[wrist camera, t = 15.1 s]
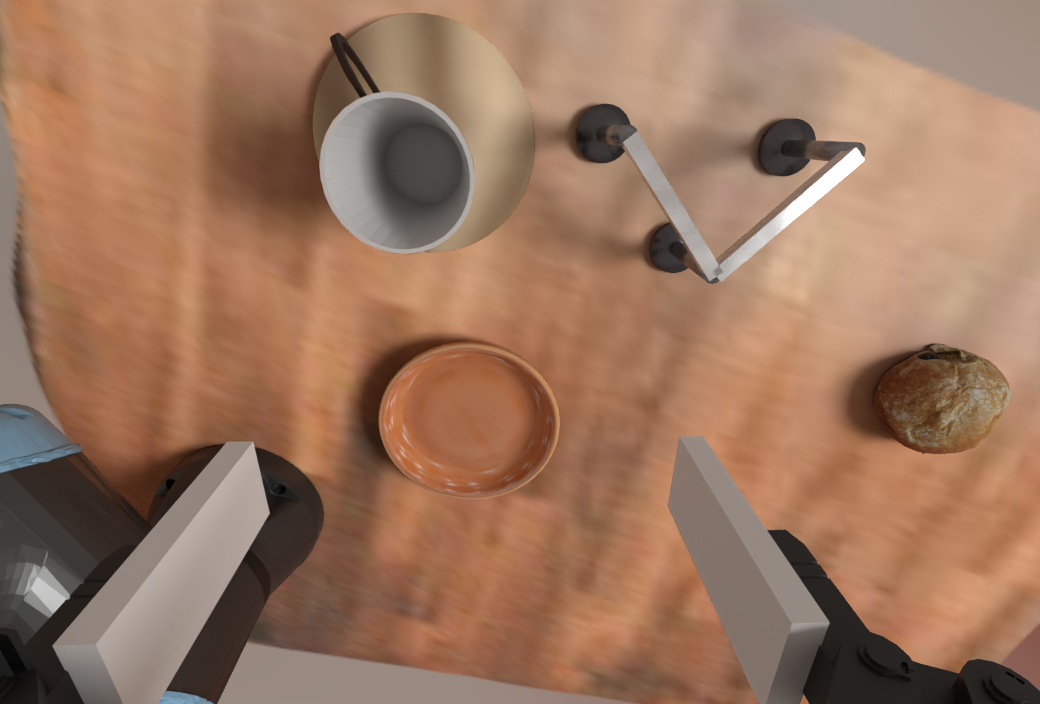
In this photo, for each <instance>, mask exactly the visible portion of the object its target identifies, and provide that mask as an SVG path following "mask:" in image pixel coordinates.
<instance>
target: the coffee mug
mask: <svg viewBox="0 0 1040 704" xmlns="http://www.w3.org/2000/svg"><path fill="white" fill-rule="evenodd" d="M330 40H331V43H332V46H333V49H334V52H335V54H336V56H337V59H338V61H339V63H340V65H341V67H342V69H343V71H344V73H345V75H346V77H347V79H348V80H349V81H350V83H351V84H352V86H353V87H354V89H355V90H356V92H357V94H358V95H359V97H360V98H359V99H357V100H355V101H354V102H352V103H351V104H349V105H348V106H346V107H345V108H344V109H343V110H342V111H341V112H340V113H339V114H338V115H337V116H336V118H335V119H334V120H333V121H332V123H331V125H330V127H329V128H328V130H327V132H326V134H325V137H324V140H323V144H322V147H321V152H320V162H319V167H320V179H321V184H322V187H323V191H324V194H325V197H326V199H327V201H328V204H329V206H330V208H331V210H332V211H333V213H334V214H335V216H336V217H337V218H338V220H339V221H340V223H341V224H342V225H343V226H344V227H345V228H346V229H347V230H348V231H349V232H350V233H351V234H352V235H354V236H355V237H356V238H358V239H359V240H361V241H362V242H364V243H365V244H367V245H369V246H372V247H374V248H376V249H378V250H382V251H386V252H390V253H395V254H413V253H420V252H424V251H427V250H429V249H432V248H435V247H437V246H438V245H440V244H442V243H443V242H445V241H447V240H448V239H449V238H450V237H451V236H452V235H453V234H454V233H455V232H456V231H457V230H458V229H459V227H460V226H461V225H462V223H463V222H464V220H465V219H466V217H467V214H468V212H469V210H470V208H471V205H472V201H473V196H474V192H475V171H474V164H473V159H472V156H471V153H470V150H469V147H468V144H467V142H466V141H465V139H464V137H463V135H462V134H461V132H460V130H459V128H458V127H457V126H456V125H455V124H454V123H453V121H452V120H451V119H450V118H449V117H448V116H447V115H446V114H445V113H444V112H442V111H441V110H440V109H439V108H438V107H436V106H435V105H433V104H432V103H430V102H428V101H426V100H424V99H422V98H420V97H417V96H414V95H411V94H407V93H404V92H391V91H386V92H380V91H379V89H378V87H377V86H376V84H375V82H374V81H373V79H372V78H371V76H370V75H369V73H368V71H367V70H366V68H365V67H364V65H363V64H362V62H361V61H360V59H359V58H358V56H357V55H356V53H355V52H354V50H353V49H352V47H351V46H350V45H349V43H348V42H347V41H346V39H345V38H344V37H343V36H342V35H341V34H340V33H336V34H335V35H333V36H331V37H330ZM345 53H346V54H347V56H348V57H349V58H350V60H351V61H352V62H353V63H354V64H355V66H356V67H357V69H358V70H359V72H360V73H361V75H362V76H363V78H364V79H365V81H366V83H367V84H368V86H369V87H370V89H371V90H372V92H373V93H372V94H369V95H367V94H366V93H365V91H364V89H363V88H362V86H361V84H360V83H359V81H358V79H357V77H356V75H355V73H354V71H353V69H352V68H351V66H350V64H349V62H348V60H347V57H346V55H345Z"/></svg>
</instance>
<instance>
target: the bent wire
mask: <svg viewBox="0 0 1040 704" xmlns="http://www.w3.org/2000/svg"><path fill="white" fill-rule="evenodd" d="M576 142H577V146H578V148H579V150H580V152H581V153H582V154H583V155H584V156H585V157H586V158H587V159H589V160H591V161H593V162H596V163H608V162H611V161H614V160H615V159H617V158H618V157H620V156H621V155H622V154H623V153H624V151H626V153H627V155H628V156H629V158H630V159H631V161H632V163H633V164H634V166H635V167H636V169H637V171H638V172H639V174H640V175H641V177H642V179H643V180H644V182H645V183H646V185H647V187H648V188H649V190H650V191H651V193H652V195H653V196H654V198H655V199H656V201H657V203H658V204H659V206H660V207H661V209H662V211H663V212H664V214H665V215H666V217H667V219H668V220H669V222H670V223H669V224H666V225H664V226H663V227H661V228H660V229H659V230H658V231H657V232H656V233H655V235H654V236H653V238H652V240H651V244H650V256H651V258H652V261H653V262H654V263H655V265H656V266H658V267H659V268H660V269H661V270H663V271H665V272H669V273H677V272H681V271H684V270H686V269H688V268H690V269H691V270H692V271H694V272H695V273H696V274H697V275H699V276H700V277H701V278H703V279H704V280H705V281H707V282H708V283H711V284H713V283H717V282H718V281H721V282H722V281H723V280H724V279H725V278H726V277H727V276H729V275H730V274H731V273H732V272H733V271H735V270H736V269H737V268H738V267H739V266H740V265H742V264H743V263H744V262H745V261H746V260H748V259H749V258H750V257H751V256H752V255H753V254H755V253H756V252H757V251H758V250H759V249H761V248H762V247H763V246H764V245H765V244H766V243H768V242H769V241H770V240H771V239H772V238H773V237H775V236H776V235H777V234H778V233H779V232H781V231H782V230H783V229H784V228H785V227H786V226H788V225H789V224H790V223H791V222H792V221H794V220H795V219H796V218H797V217H798V216H799V215H801V214H802V213H803V212H804V211H805V210H807V209H808V208H809V207H810V206H811V205H812V204H814V203H815V202H816V201H817V200H818V199H820V198H821V197H822V196H823V195H824V194H825V193H827V192H828V191H829V190H830V189H831V188H832V187H834V186H835V185H836V184H837V183H838V182H840V181H841V180H842V179H843V178H844V177H845V176H847V175H848V174H849V173H850V172H851V171H853V170H854V169H855V168H856V167H857V166H858V165H860V164H861V163H862V162H863V161H864V158H863V157H864V155H865V151H866V149H865V146H864V145H863V144H862V143H857V142H835V141H816V138H815V133H814V131H813V129H812V127H811V126H810V125H809V124H808V123H807V122H805V121H803V120H800V119H785V120H781V121H779V122H777V123H775V124H774V125H772V126H771V127H770V128H769V129H768V130H767V131H766V133H765V134H764V135H763V137H762V139H761V141H760V145H759V149H758V157H759V161H760V164H761V166H762V167H763V169H764V170H765V171H767V172H768V173H770V174H773V175H777V176H789V175H792V174H795V173H797V172H798V171H800V170H801V169H803V168H804V167H805V166H806V165H807V163H808V162H809V161H810V159H813V160H822V161H829V162H828V163H827V164H826V165H824V166H823V167H822V168H821V169H820V170H819V171H818V172H816V173H815V174H814V175H813V176H812V177H811V178H809V179H808V180H807V181H806V182H805V183H804V184H803V185H801V186H800V187H799V188H798V189H797V190H796V191H794V192H793V193H792V194H791V195H790V196H789V197H787V198H786V199H785V200H784V201H783V202H782V203H781V204H779V205H778V206H777V207H776V208H775V209H774V210H772V211H771V212H770V213H769V214H768V215H767V216H766V217H764V218H763V219H762V220H761V221H760V222H759V223H757V224H756V225H755V226H754V227H753V228H752V229H750V230H749V231H748V232H747V233H746V234H745V235H744V236H742V237H741V238H740V239H739V240H738V241H737V242H735V243H734V244H733V245H732V246H731V247H730V248H728V249H727V250H726V251H725V252H724V253H723V254H722V255H720V256H719V257H718V258H717V259H716V260H715V258H714V256H713V255H712V253H711V251H710V250H709V248H708V246H707V245H706V243H705V241H704V240H703V238H702V236H701V235H700V233H699V232H698V230H697V228H696V227H695V225H694V223H693V222H692V220H691V218H690V217H689V215H688V213H687V212H686V210H685V208H684V207H683V205H682V204H681V202H680V200H679V199H678V197H677V195H676V194H675V192H674V190H673V189H672V187H671V185H670V184H669V182H668V180H667V179H666V177H665V175H664V174H663V172H662V171H661V169H660V167H659V166H658V164H657V162H656V161H655V159H654V157H653V156H652V154H651V152H650V151H649V149H648V147H647V146H646V144H645V143H644V141H643V139H642V138H641V136H640V134H639V133H638V131H637V129H636V128H635V127H634V126H632V125H630V122H629V119H628V117H627V115H626V114H625V113H624V112H623V111H622V110H621V109H620V108H619V107H617V106H615V105H611V104H600V105H596V106H594V107H592V108H590V109H589V110H587V111H586V112H585V113H584V114H583V116H582V117H581V118H580V120H579V122H578V125H577V128H576Z"/></svg>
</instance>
